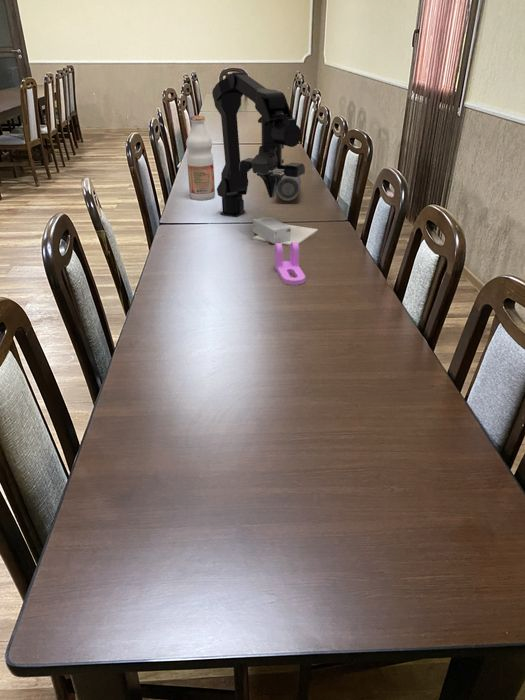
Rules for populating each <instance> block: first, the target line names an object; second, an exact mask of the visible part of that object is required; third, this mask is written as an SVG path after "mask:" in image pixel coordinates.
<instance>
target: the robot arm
mask: <svg viewBox="0 0 525 700" xmlns="http://www.w3.org/2000/svg"><path fill="white" fill-rule="evenodd" d="M243 96H245V97H246V98H248V99H249V100H251V102H253V103H254V108H255V110H256V111H257V113H259V115H260V117H259V118H258V120H257V123H259V124H261V145H260V146H258V147H259V148H258V154H256V155H255V156H254V157H247V158H245V159H242V160H241V151H240V139H239V138H240V137H239V128H238V127H239V125H238V112H239V110H240V108H241V105H242V97H243ZM212 99H213V103H214V106H215V109H216V110H217V112H218V113H219V114H220V117H221V119H220V120H221V127H222V128H221V131H222V142H223V152H224V161H225V162H224V163H225V164H224V166H223V168H222V171H221V175H220V176H221V180H220V182H219V184H218V186H217V188H216V192H217V195H218V196H219V197H220V198H221V203H222V204H221V207H222V208H221V209H222V211H221V212H219V214H220V215H223V216H229V217H238V216H241V215H243V214H244V213H246V210H245V206H244V205H245V201H244V197H243V196H245V195H247V193H248V186H249V178H248V173H249V172H250V171H251V170H252V173H254V174H256V176H258V177H259V178H261V180H262V181H263V183H264V185H265V189H266V191H267V195H268V197H269V198H270V199H273V198H274V197H275V194H276V193H277V192H276V190H277V187H278V185H279V183H280V181H281V179H282V177H283V176H284V175H286V176H289V177H298V176H300V177H301V176H302V175H305V174H306V173H305V172H306V167H305V164H304V163H301V162H289V163H286V164H287V165H285V164H284V161H285V159H282V157H283V156H282V155H283V149H285V147H288V148H289V147H290V148H294V147H296V146H297V145H298V144H299V143H300V141H301V139H302V131H301V128H300V127H299V126H298V124H296V119H295V118H293V115H292V113H293V112H292V111H291V108H290V106H289V104H288V101H287V98H286V95H285V94H284V93H283V92H282V91H279V90H276V89H271V88H266V87H265V86H263V85H262V84H260V83H259V82H257V81H256V80H255V79H253V78H252V77H251V76H249V75H248V73H247V72H245V71H235V72H234V71H233V72H231V73H229V74H228V76H227V77H225V78H224V79H222V80H220V81H218V82H217V83H216V84H215V85H214V87H213V88H212Z"/></svg>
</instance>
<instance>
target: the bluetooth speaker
mask: <svg viewBox="0 0 525 700" xmlns="http://www.w3.org/2000/svg"><path fill="white" fill-rule="evenodd" d="M287 164H288V163H286V164H284V165H287ZM301 183H302V179H301V175H300V176H298V177H289V176H286V175H284V176H283V177H282V179H281V181H280V183H279V185H278V187H277V190H276V192H275V193H276V194H277V196H278V197H279V198H280V199H281V200H283V201H285V202H287V201H288V202H290V201H293V200H296V199H297V197H298V195H299V193H300V192H301Z"/></svg>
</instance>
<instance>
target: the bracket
mask: <svg viewBox="0 0 525 700" xmlns="http://www.w3.org/2000/svg"><path fill="white" fill-rule="evenodd" d="M299 245H300V244H298V242H291V244H290V245H289V249H290V250H289V260H284V256H283V255H284V250H283V244H281V243H275V244H274V246H273V247H274V248H273V249H274V254H273V255H274V256H273V257H274V260H273V261H274V262H273V267H274V268H275V269H274V270H277V271H276V272H277V274H278V276H279V275H280V276H279V278H280V277H281V278H280V279H282V280H281V281H282V283H283V282H284V283H283V284H285V283H286V284H285V285H287V284H290V285H289V286H299V285H298V284H301V285H303V284H305V283H306V275H305V273H304V271H303V270H302V268H301V267H300V266H299V262H300V247H299ZM290 273H292V274H290ZM291 275H293V276H294V275H295V276H294V277H292V276H291ZM304 282H305V283H304ZM302 283H303V284H302Z"/></svg>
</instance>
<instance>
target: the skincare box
mask: <svg viewBox="0 0 525 700" xmlns="http://www.w3.org/2000/svg"><path fill="white" fill-rule="evenodd" d="M287 225H288V224H286V225H285V223H284V222H282V221H280V220H277V219H275V218H273V217H272V216H266V217H265V216H264V217H258V218H253V219H252V232H253V233H255V234H256V235H259V236H261V237H263V238H264V239H266V240H268V241H269V242H268V243H271V244H274V245H275V243H279V242H284V241H289V240H290V230H291V227H289V226H287Z"/></svg>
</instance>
